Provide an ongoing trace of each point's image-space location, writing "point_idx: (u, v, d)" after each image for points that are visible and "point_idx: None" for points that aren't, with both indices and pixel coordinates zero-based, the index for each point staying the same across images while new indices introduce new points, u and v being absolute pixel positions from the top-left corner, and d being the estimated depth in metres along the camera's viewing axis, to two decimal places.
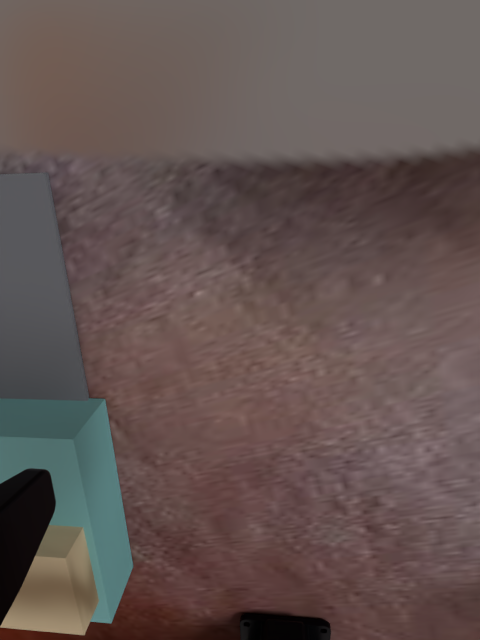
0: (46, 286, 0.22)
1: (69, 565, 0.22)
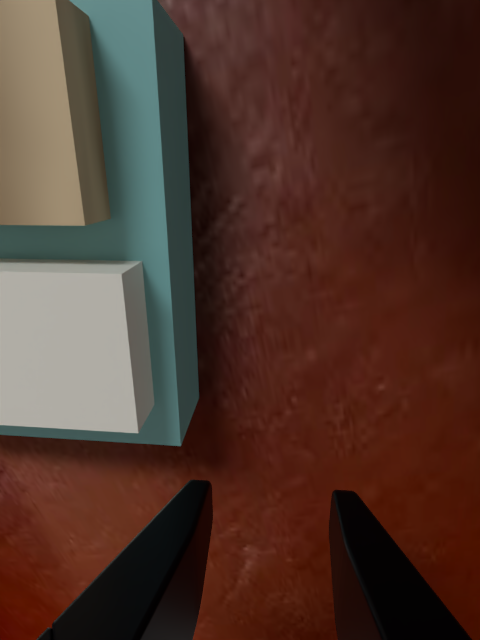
0: None
1: None
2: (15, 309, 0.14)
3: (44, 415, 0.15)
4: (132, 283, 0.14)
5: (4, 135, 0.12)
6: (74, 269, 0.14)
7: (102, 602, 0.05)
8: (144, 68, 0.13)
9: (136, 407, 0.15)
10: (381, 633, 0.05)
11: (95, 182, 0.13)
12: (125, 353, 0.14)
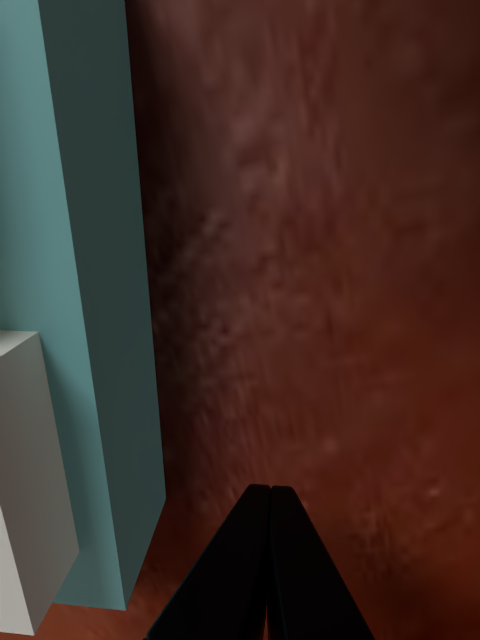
0: None
1: None
2: None
3: None
4: (8, 382, 0.07)
5: None
6: None
7: (193, 611, 0.05)
8: None
9: (27, 596, 0.08)
10: (283, 623, 0.05)
11: None
12: None
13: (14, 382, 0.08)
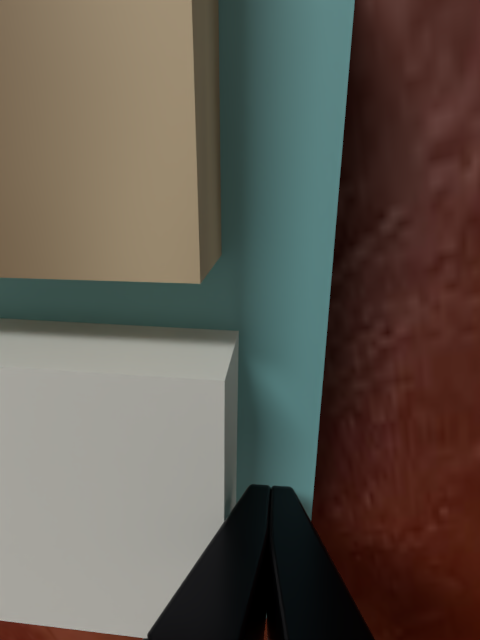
0: None
1: None
2: None
3: (50, 608, 0.08)
4: (231, 384, 0.07)
5: (21, 70, 0.05)
6: (118, 359, 0.07)
7: (193, 612, 0.05)
8: None
9: None
10: (282, 623, 0.05)
11: (212, 185, 0.06)
12: (215, 524, 0.07)
13: (232, 384, 0.07)
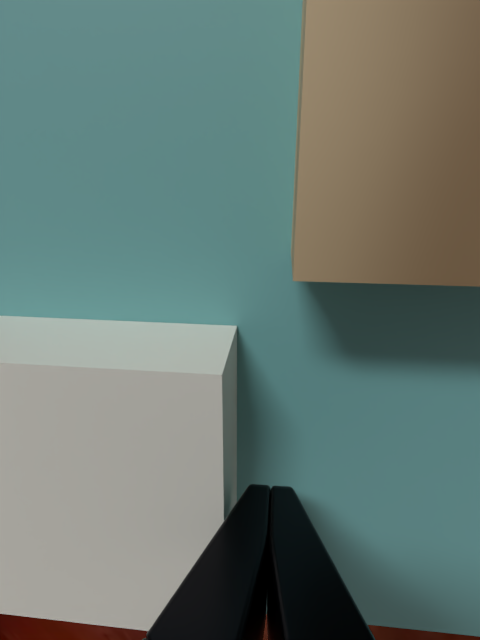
0: None
1: None
2: None
3: (54, 601, 0.08)
4: (229, 378, 0.07)
5: None
6: (117, 354, 0.07)
7: (193, 611, 0.05)
8: None
9: None
10: (283, 623, 0.05)
11: None
12: (215, 516, 0.07)
13: (231, 378, 0.07)
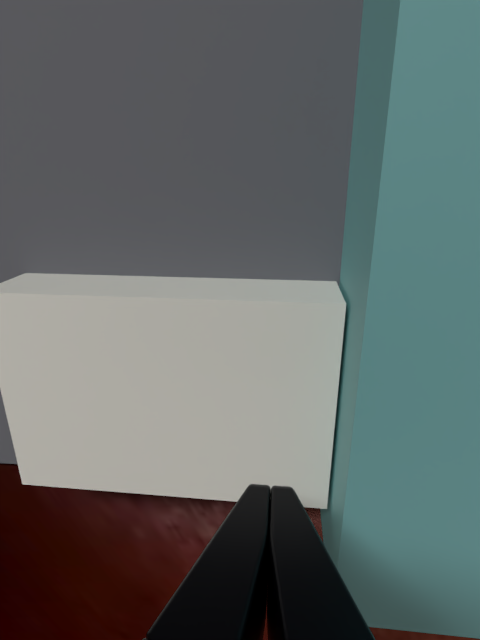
0: (55, 38, 0.10)
1: None
2: (182, 349, 0.10)
3: (201, 483, 0.12)
4: None
5: None
6: (267, 295, 0.10)
7: (193, 612, 0.05)
8: None
9: (329, 476, 0.11)
10: (283, 623, 0.05)
11: None
12: (329, 408, 0.10)
13: None
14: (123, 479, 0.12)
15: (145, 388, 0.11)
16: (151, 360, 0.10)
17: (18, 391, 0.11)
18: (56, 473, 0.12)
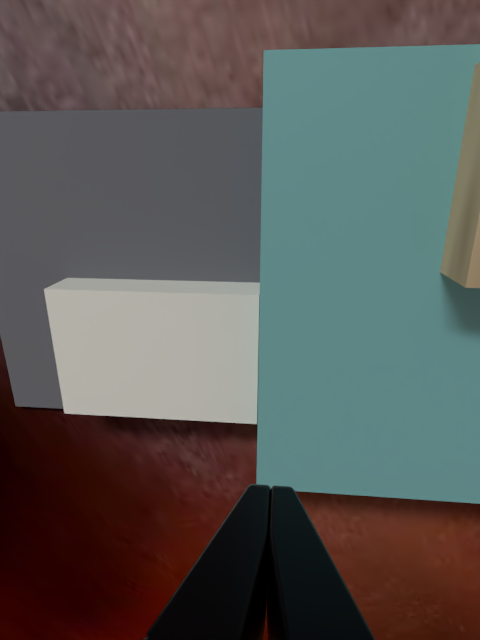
0: (91, 140, 0.17)
1: None
2: (166, 322, 0.17)
3: (178, 409, 0.18)
4: None
5: None
6: (216, 290, 0.17)
7: (193, 612, 0.05)
8: None
9: (257, 402, 0.18)
10: (283, 623, 0.05)
11: None
12: (254, 358, 0.17)
13: None
14: (129, 408, 0.19)
15: (143, 347, 0.18)
16: (147, 329, 0.17)
17: (65, 350, 0.18)
18: (86, 405, 0.19)
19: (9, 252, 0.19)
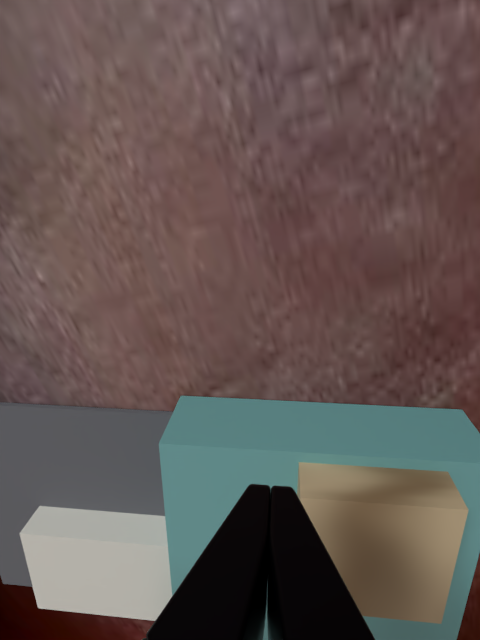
0: (54, 425, 0.22)
1: (320, 495, 0.15)
2: (110, 558, 0.23)
3: (123, 611, 0.24)
4: None
5: (396, 573, 0.16)
6: (147, 537, 0.23)
7: (193, 611, 0.05)
8: None
9: None
10: (283, 623, 0.05)
11: None
12: None
13: None
14: (87, 608, 0.24)
15: (95, 572, 0.23)
16: (97, 562, 0.23)
17: (37, 570, 0.24)
18: (54, 604, 0.25)
19: None
